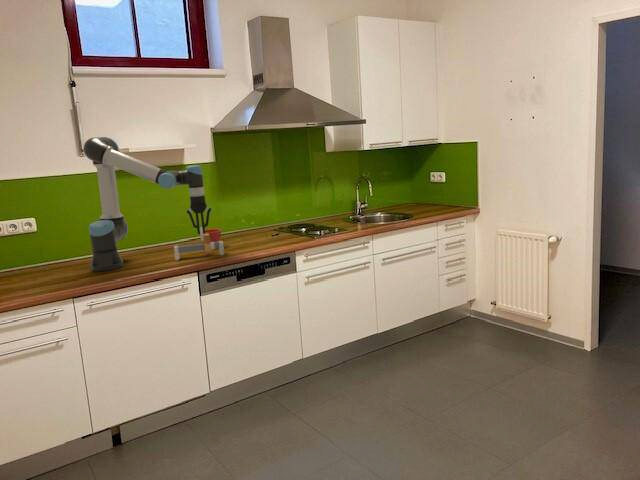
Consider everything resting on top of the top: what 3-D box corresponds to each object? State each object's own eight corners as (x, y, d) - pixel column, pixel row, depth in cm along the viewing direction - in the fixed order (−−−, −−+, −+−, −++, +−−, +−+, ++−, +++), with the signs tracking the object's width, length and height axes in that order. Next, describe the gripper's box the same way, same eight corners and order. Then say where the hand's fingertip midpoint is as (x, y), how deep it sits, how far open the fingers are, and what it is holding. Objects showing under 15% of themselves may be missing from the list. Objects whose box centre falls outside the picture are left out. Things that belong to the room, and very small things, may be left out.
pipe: (175, 260, 276) (174, 247, 274) (175, 258, 281) (174, 245, 280) (224, 254, 281) (223, 242, 280) (223, 252, 287) (222, 240, 286)
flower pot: (211, 244, 310) (210, 228, 309) (226, 245, 305) (224, 229, 303) (199, 248, 302) (197, 231, 300) (213, 249, 296) (212, 232, 294)
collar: (205, 254, 278) (203, 236, 276) (204, 251, 285) (202, 234, 283) (211, 253, 279) (209, 235, 277) (210, 251, 286) (208, 233, 284)
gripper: (184, 197, 270) (189, 242, 275) (210, 195, 273) (215, 239, 278) (184, 196, 277) (189, 240, 282) (209, 193, 281) (214, 237, 285)
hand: (202, 240), depth 280 cm, fingers closed
